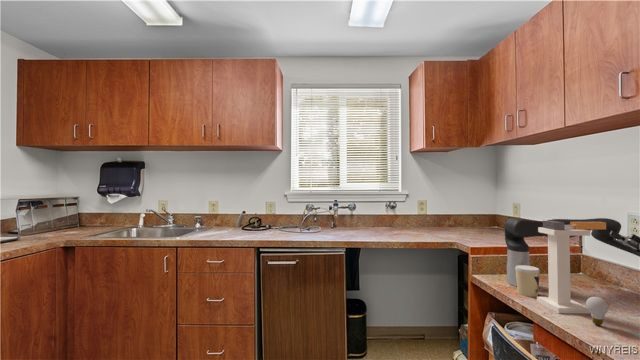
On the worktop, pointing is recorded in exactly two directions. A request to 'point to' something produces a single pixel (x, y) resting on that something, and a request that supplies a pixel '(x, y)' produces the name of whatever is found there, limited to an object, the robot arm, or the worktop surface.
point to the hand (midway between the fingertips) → (620, 234)
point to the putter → (573, 225)
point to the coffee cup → (527, 280)
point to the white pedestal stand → (561, 271)
